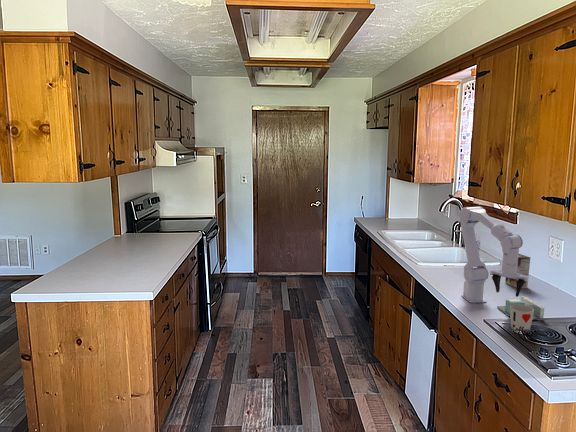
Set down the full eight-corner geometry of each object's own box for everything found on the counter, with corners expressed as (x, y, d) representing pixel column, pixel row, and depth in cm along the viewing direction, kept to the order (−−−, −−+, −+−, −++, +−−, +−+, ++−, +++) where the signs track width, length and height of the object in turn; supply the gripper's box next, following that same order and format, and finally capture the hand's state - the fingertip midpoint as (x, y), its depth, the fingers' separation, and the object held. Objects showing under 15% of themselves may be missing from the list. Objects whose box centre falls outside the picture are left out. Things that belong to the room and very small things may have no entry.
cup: (507, 333, 166) (509, 309, 165) (509, 326, 173) (511, 302, 171) (530, 338, 162) (533, 313, 160) (532, 330, 168) (534, 306, 167)
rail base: (497, 308, 191) (498, 296, 190) (523, 307, 192) (524, 295, 191) (515, 321, 177) (516, 308, 176) (543, 320, 178) (544, 307, 177)
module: (505, 310, 186) (505, 298, 185) (518, 310, 186) (519, 298, 186) (510, 314, 182) (511, 302, 181) (523, 313, 182) (524, 301, 182)
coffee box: (504, 283, 225) (506, 253, 222) (514, 282, 226) (517, 252, 223) (517, 288, 216) (520, 257, 213) (528, 287, 217) (530, 256, 215)
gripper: (531, 264, 179) (528, 295, 181) (494, 258, 188) (492, 287, 190) (527, 268, 173) (524, 299, 176) (489, 261, 183) (487, 291, 185)
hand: (507, 293), depth 183 cm, fingers open, 7 cm apart
